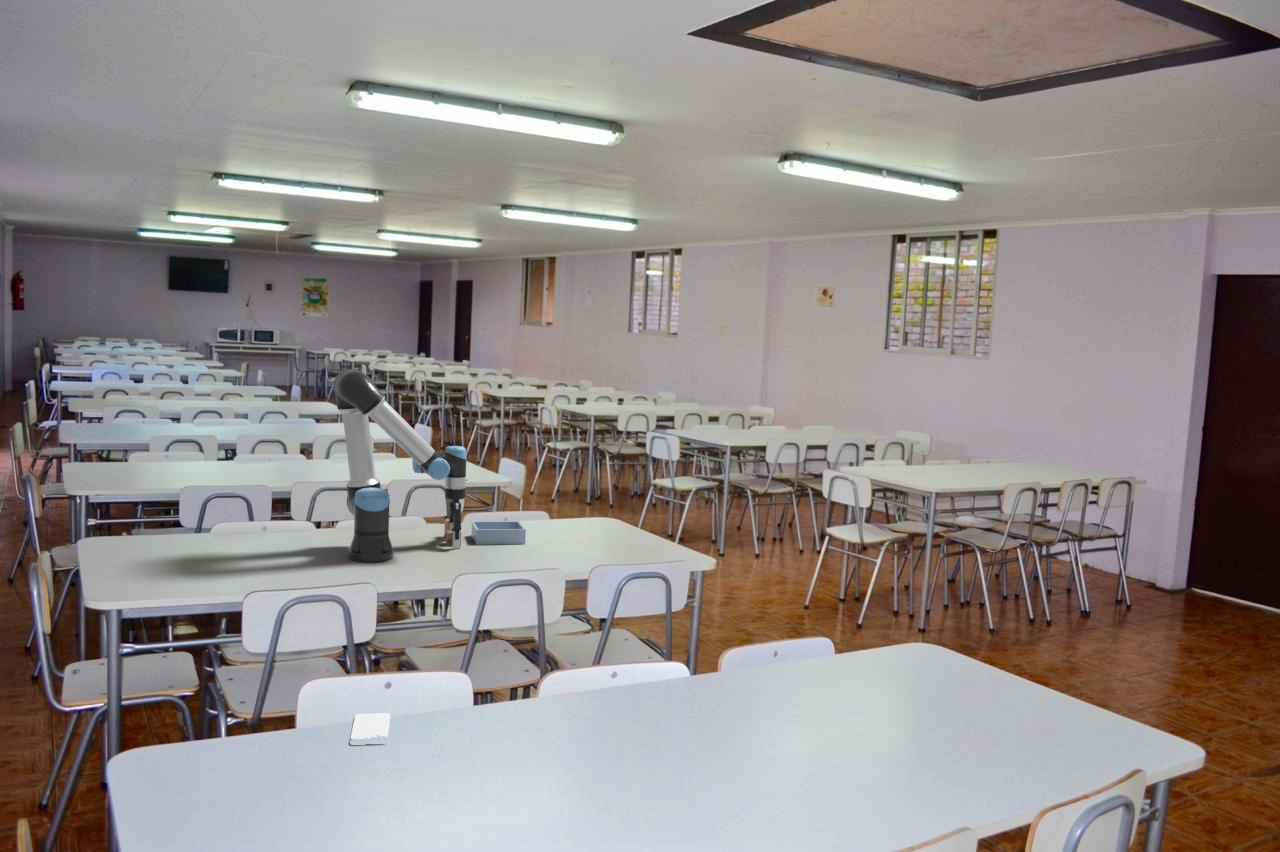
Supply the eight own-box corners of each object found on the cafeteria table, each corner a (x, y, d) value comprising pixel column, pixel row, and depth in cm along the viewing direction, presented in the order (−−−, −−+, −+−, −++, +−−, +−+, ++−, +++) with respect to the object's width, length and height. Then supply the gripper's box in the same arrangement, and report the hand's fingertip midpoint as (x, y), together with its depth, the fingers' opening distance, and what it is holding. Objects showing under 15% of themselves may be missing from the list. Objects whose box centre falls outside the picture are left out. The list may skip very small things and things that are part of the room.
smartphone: (348, 744, 194) (355, 714, 209) (348, 748, 194) (355, 717, 209) (387, 743, 195) (390, 712, 210) (387, 746, 195) (390, 716, 210)
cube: (447, 546, 367) (447, 533, 367) (446, 543, 372) (446, 530, 372) (460, 546, 369) (461, 532, 368) (459, 543, 374) (460, 530, 373)
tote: (475, 544, 372) (476, 530, 371) (471, 535, 387) (471, 521, 386) (525, 543, 377) (525, 529, 376) (518, 535, 392) (519, 521, 391)
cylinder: (444, 539, 379) (445, 521, 378) (443, 536, 384) (444, 518, 383) (458, 538, 380) (458, 520, 380) (456, 536, 385) (457, 518, 384)
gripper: (469, 493, 358) (468, 551, 360) (462, 482, 381) (461, 536, 384) (448, 493, 355) (447, 551, 358) (442, 482, 379) (441, 536, 381)
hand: (454, 543), depth 371 cm, fingers open, 13 cm apart
